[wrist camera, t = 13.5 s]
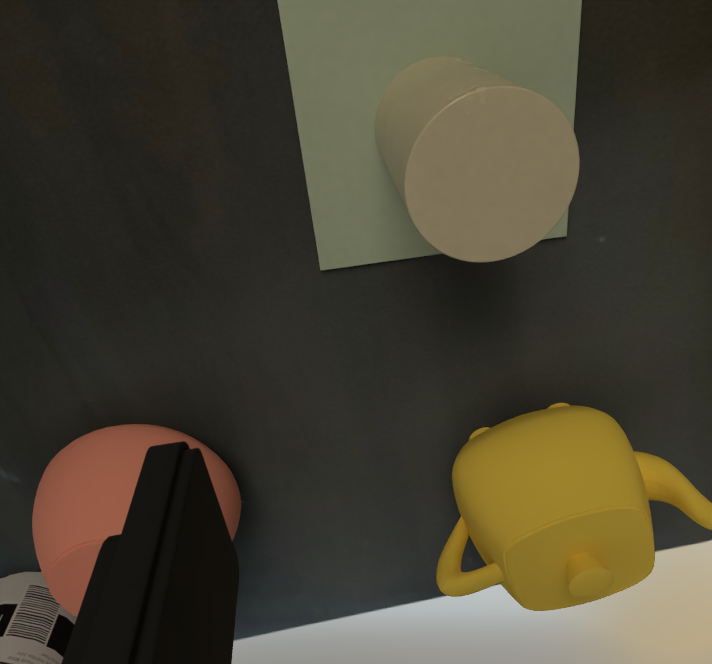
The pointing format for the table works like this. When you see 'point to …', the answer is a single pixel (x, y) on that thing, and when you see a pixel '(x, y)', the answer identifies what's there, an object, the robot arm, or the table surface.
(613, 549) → the teapot
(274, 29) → the table surface
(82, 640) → the robot arm
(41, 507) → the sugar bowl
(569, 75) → the mat
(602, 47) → the table surface
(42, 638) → the supplement can
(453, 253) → the beige cylinder
